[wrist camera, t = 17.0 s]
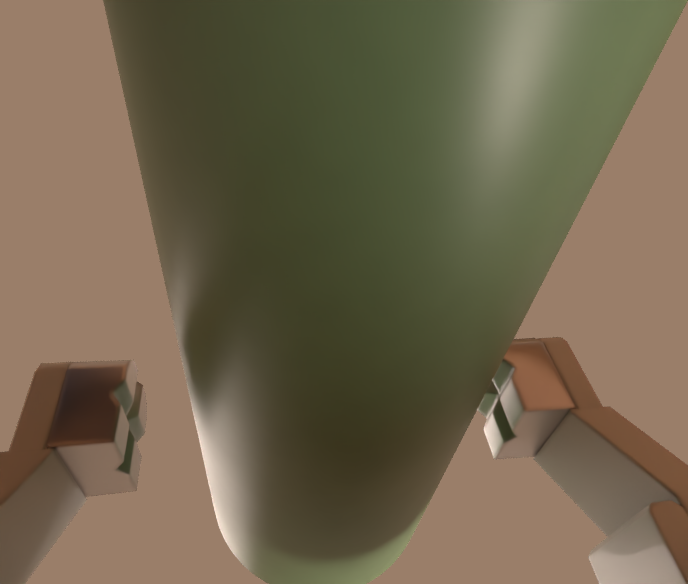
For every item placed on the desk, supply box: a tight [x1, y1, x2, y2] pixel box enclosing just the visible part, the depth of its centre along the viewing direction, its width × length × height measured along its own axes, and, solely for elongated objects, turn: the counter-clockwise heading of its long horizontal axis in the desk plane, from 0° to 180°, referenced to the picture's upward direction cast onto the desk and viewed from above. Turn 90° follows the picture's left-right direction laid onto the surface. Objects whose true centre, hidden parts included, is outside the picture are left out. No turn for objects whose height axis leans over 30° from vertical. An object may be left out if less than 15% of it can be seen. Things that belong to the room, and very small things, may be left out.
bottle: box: [103, 0, 688, 584], centre depth 9 cm, size 5×5×16 cm
